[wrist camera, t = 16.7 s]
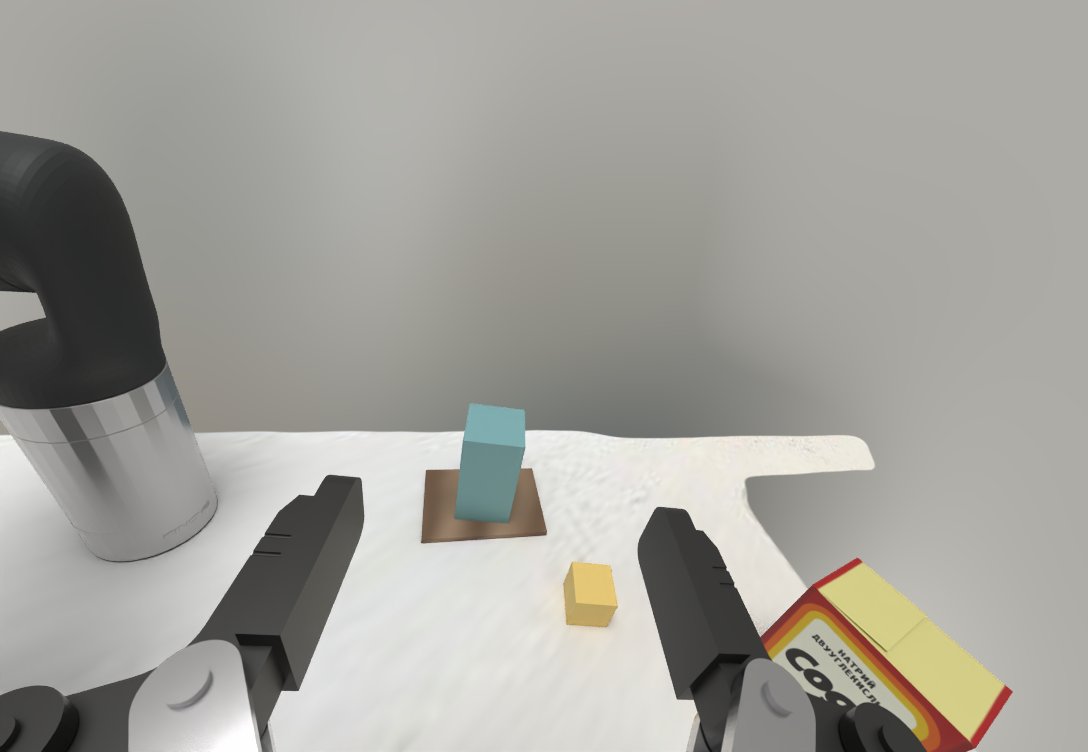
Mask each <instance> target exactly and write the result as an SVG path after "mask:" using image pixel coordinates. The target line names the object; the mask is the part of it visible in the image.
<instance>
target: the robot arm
mask: <svg viewBox="0 0 1088 752" xmlns="http://www.w3.org/2000/svg"><path fill="white" fill-rule="evenodd" d="M0 291H13V292H14V291H15V292H32V293H37V295H38V297H39V299H40V302H41V304H42V306H43V309H44V312H45V315H46V318H42V319H38V320H34V321H30V322H26V323H22V324H19V325H16V326H13V327H10V328H7V329H5V330H2V331H0V420H1V421H2V423H3V424H4V425H5V427H6V428H7V430H8V431H9V432H10V434H11V435H12V437H13V438H14V440H15V441H16V442H17V444H18V445H19V447H20V448H21V450H22V451H23V453H24V454H25V456H26V457H27V459H28V460H29V461H30V463H31V464H32V466H33V467H34V469H35V470H36V472H37V473H38V475H39V476H40V477H41V479H42V480H43V482H44V483H45V485H46V486H47V488H48V489H49V491H50V492H51V494H52V495H53V496H54V498H55V499H56V501H57V502H58V504H59V505H60V507H61V508H62V510H63V511H64V512H65V514H66V515H67V517H68V518H69V520H70V521H71V523H72V525H73V526H74V528H75V529H76V531H77V532H78V533H79V535H80V536H81V538H82V539H83V541H84V542H85V544H86V545H87V546H88V548H89V549H90V551H91V552H92V553H94V554H95V555H96V556H97V557H100V558H102V559H105V560H111V561H132V560H137V559H143V558H147V557H150V556H154V555H157V554H160V553H162V552H165V551H167V550H169V549H172V548H174V547H176V546H178V545H179V544H181V543H183V542H185V541H186V540H188V539H189V538H191V537H192V536H193V535H195V534H196V533H198V532H199V531H200V530H201V529H202V528H203V527H204V526H205V525H206V524H207V523H208V521H209V520H210V519H211V518H212V516H213V514H214V512H215V510H216V507H217V497H216V493H215V491H214V488H213V485H212V482H211V480H210V477H209V474H208V471H207V468H206V465H205V463H204V460H203V457H202V454H201V452H200V449H199V446H198V444H197V441H196V438H195V435H194V433H193V430H192V427H191V425H190V422H189V419H188V416H187V414H186V411H185V408H184V405H183V403H182V400H181V398H180V395H179V392H178V389H177V387H176V385H175V382H174V379H173V376H172V373H171V371H170V368H169V365H168V362H167V360H166V357H165V354H164V351H163V348H162V345H161V339H160V330H159V321H158V316H157V312H156V308H155V305H154V302H153V299H152V295H151V293H150V289H149V285H148V282H147V279H146V275H145V271H144V268H143V264H142V260H141V257H140V253H139V249H138V245H137V241H136V238H135V234H134V231H133V227H132V224H131V221H130V218H129V214H128V212H127V210H126V207H125V205H124V202H123V200H122V198H121V196H120V194H119V192H118V190H117V189H116V187H115V185H114V183H113V182H112V180H111V179H110V178H109V177H108V175H107V174H106V172H105V171H104V170H103V169H102V168H101V167H100V166H99V165H98V164H97V163H96V162H95V161H94V160H93V159H92V158H91V157H89V156H88V155H87V154H85V153H84V152H82V151H80V150H79V149H77V148H74V147H72V146H70V145H68V144H64V143H61V142H57V141H53V140H49V139H43V138H38V137H33V136H27V135H21V134H14V133H8V132H2V131H0ZM363 523H364V506H363V492H362V481H361V478H359V477H348V476H337V475H328V476H326V477H325V479H324V480H323V481H322V483H321V485H320V487H319V488H318V490H317V492H316V494H315V495H314V496H307V495H299V496H297V497H296V498H295V499H294V500H293V501H291V502H290V503H289V504H288V505H286V506H285V507H284V508H283V509H282V510H280V511H279V512H278V514H277V515H276V517H275V518H274V520H273V521H272V523H271V524H270V526H269V528H268V529H267V531H266V532H265V536H264V537H262V538H261V540H260V541H259V543H258V545H257V546H256V548H255V549H254V552H253V554H252V556H251V555H250V557H249V558H248V560H247V562H246V563H245V565H244V566H243V568H242V569H241V571H240V572H239V574H238V575H237V577H236V578H235V580H234V582H233V583H232V585H231V586H230V588H229V589H228V591H227V592H226V594H225V595H224V597H223V599H222V600H221V602H220V603H219V605H218V606H217V608H216V609H215V611H214V612H213V614H212V616H211V617H210V619H209V620H208V622H207V623H206V625H205V626H204V628H203V629H202V630H201V632H200V633H199V634H198V635H197V636H196V638H195V639H194V640H193V641H192V642H191V643H190V644H189V645H188V646H187V647H186V648H184V649H182V650H180V651H179V652H177V653H175V654H174V655H172V656H171V657H169V658H168V659H167V660H165V661H164V662H163V663H162V664H161V665H159V666H158V667H156V668H155V669H153V670H150V671H148V672H146V673H144V674H141V675H138V676H135V677H132V678H129V679H125V680H122V681H118V682H115V683H111V684H108V685H104V686H101V687H97V688H94V689H90V690H87V691H83V692H80V693H76V694H72V695H69V696H65V697H64V696H63V695H62V694H61V693H60V692H59V691H57V690H56V689H54V688H52V687H48V686H29V687H24V688H20V689H16V690H13V691H11V692H8V693H5V694H3V695H0V752H276V750H275V745H274V740H273V735H272V730H271V725H270V720H269V718H270V716H271V714H272V711H273V709H274V707H275V705H276V702H277V700H278V698H279V695H280V693H281V691H299V689H300V686H301V684H302V681H303V679H304V676H305V674H306V671H307V669H308V666H309V664H310V661H311V659H312V656H313V654H314V651H315V649H316V646H317V644H318V641H319V639H320V636H321V634H322V631H323V629H324V626H325V624H326V621H327V619H328V617H329V614H330V612H331V609H332V607H333V604H334V602H335V599H336V597H337V594H338V592H339V589H340V587H341V584H342V582H343V579H344V577H345V574H346V572H347V569H348V567H349V564H350V562H351V559H352V557H353V554H354V552H355V549H356V547H357V544H358V542H359V539H360V536H361V533H362V529H363ZM638 560H639V564H640V568H641V571H642V575H643V578H644V582H645V586H646V589H647V593H648V597H649V600H650V604H651V607H652V611H653V615H654V618H655V622H656V625H657V629H658V633H659V636H660V640H661V643H662V647H663V651H664V654H665V658H666V662H667V665H668V669H669V672H670V676H671V680H672V683H673V687H674V690H675V694H676V698H677V699H679V700H694V702H695V705H696V708H697V712H698V713H697V714H696V716H695V718H694V721H693V725H692V729H691V733H690V737H689V742H688V746H687V750H686V752H927V751H926V749H925V748H924V746H923V745H922V743H921V742H920V740H919V739H918V738H917V737H916V735H915V734H914V733H913V732H912V731H911V729H910V728H909V727H908V726H907V725H906V724H905V723H904V722H903V721H902V720H901V719H899V718H898V717H897V716H896V715H894V714H893V713H892V712H890V711H889V710H887V709H886V708H884V707H882V706H880V705H877V704H875V703H870V702H864V703H861V704H859V705H858V706H856V707H854V708H853V709H851V710H848V709H846V708H843V707H841V706H838V705H836V704H834V703H831V702H829V701H827V700H824V699H822V698H819V697H817V696H815V695H812V694H810V693H808V692H806V691H804V689H803V688H802V686H801V685H800V684H799V682H798V681H797V680H796V679H795V678H794V677H793V676H792V675H791V674H790V673H789V672H788V671H787V670H786V669H784V668H783V667H782V666H780V665H779V664H777V663H775V662H773V661H772V659H771V658H770V656H769V654H768V653H767V651H766V649H765V647H764V645H763V643H762V640H761V638H760V636H759V634H758V632H757V630H756V628H755V626H754V624H753V622H752V620H751V617H750V615H749V613H748V611H747V609H746V607H745V605H744V603H743V601H742V599H741V596H740V594H739V592H738V590H737V588H735V587H734V582H733V580H732V578H731V576H730V573H729V571H727V570H726V568H727V567H726V565H725V563H724V561H723V559H722V557H721V555H720V552H719V550H718V548H717V547H716V546H715V545H714V543H713V542H712V541H711V540H710V539H709V538H708V536H707V535H706V534H705V533H704V532H703V531H700V530H696V529H695V527H694V525H693V522H692V520H691V518H690V516H689V514H688V512H687V511H686V510H684V509H677V508H666V507H657V508H656V509H655V510H654V512H653V514H652V516H651V518H650V520H649V522H648V524H647V525H646V527H645V529H644V531H643V533H642V535H641V537H640V539H639V543H638Z"/></svg>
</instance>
